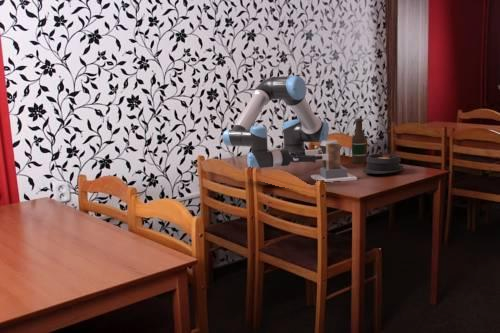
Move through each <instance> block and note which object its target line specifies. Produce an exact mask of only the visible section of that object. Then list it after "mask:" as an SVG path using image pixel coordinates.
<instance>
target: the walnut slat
mask: <svg viewBox="0 0 500 333" xmlns="http://www.w3.org/2000/svg"><path fill="white" fill-rule="evenodd" d="M326 154H328V158H329V160H326V169H327V170H331V169H340V166H341V143H340V142H338V143H327V144H326Z"/></svg>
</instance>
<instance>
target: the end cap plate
mask: <svg viewBox="0 0 500 333" xmlns="http://www.w3.org/2000/svg"><path fill="white" fill-rule="evenodd" d="M310 177H311V179H313V180H314V181H316V182H318V181H317V180H324V181H325V182H331V183H334V182H333V181H341V182H347V181H348V182H349V181H357V180H358V177H357V176H355V175H353V174H350V173H349V172H348V168H347V167H345V166H343V165H340V169H331V170H327V169H326V167H324V166H322V167H319V174H312V175H310Z"/></svg>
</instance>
